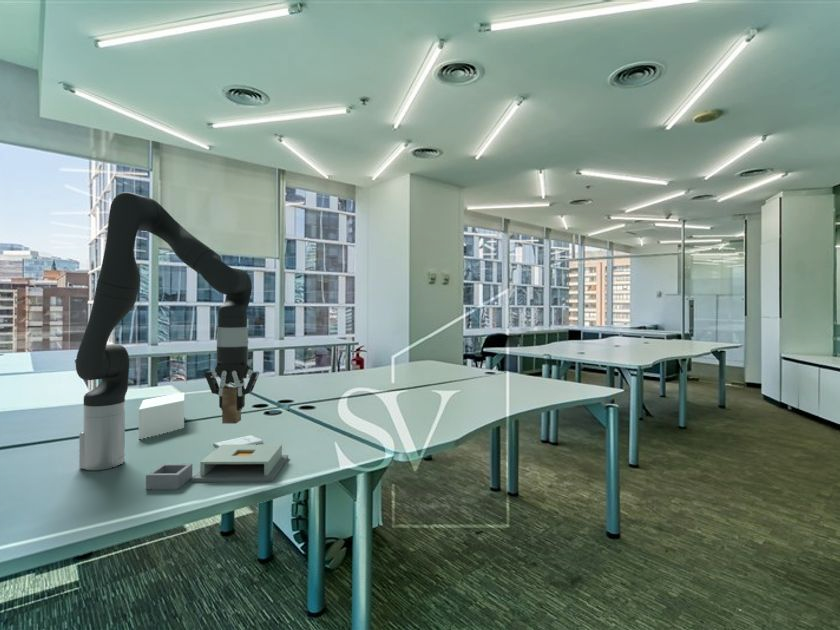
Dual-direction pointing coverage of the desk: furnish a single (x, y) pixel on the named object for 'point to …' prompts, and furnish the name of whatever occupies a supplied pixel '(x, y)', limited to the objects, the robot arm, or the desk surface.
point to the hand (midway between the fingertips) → (232, 409)
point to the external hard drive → (240, 441)
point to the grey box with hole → (242, 464)
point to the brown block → (230, 406)
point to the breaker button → (243, 453)
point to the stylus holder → (169, 476)
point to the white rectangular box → (161, 415)
